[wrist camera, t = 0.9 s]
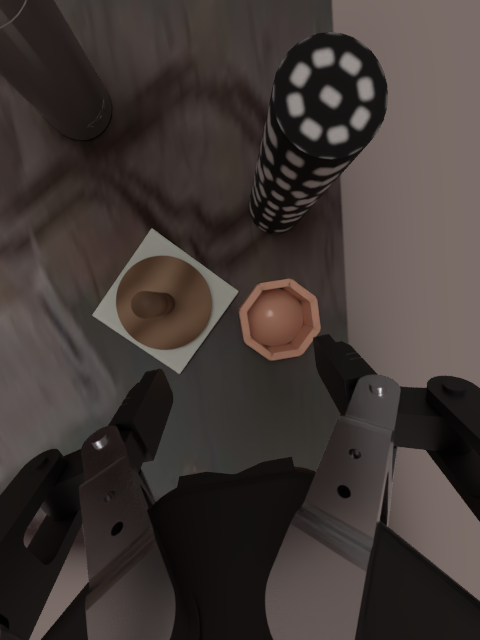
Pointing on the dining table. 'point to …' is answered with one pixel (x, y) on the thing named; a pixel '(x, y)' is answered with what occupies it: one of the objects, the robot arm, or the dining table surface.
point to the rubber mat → (218, 287)
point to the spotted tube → (315, 125)
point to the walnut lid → (163, 302)
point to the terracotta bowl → (279, 319)
